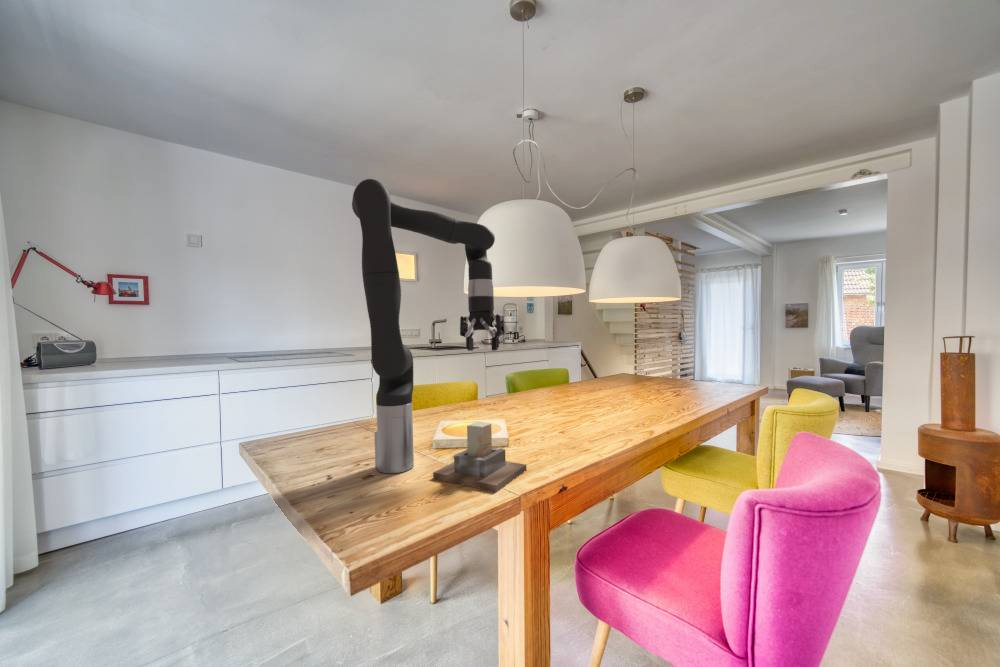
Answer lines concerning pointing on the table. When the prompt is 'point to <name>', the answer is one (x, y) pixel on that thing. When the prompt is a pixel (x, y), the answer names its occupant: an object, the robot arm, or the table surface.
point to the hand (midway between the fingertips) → (482, 350)
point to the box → (479, 439)
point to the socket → (481, 470)
